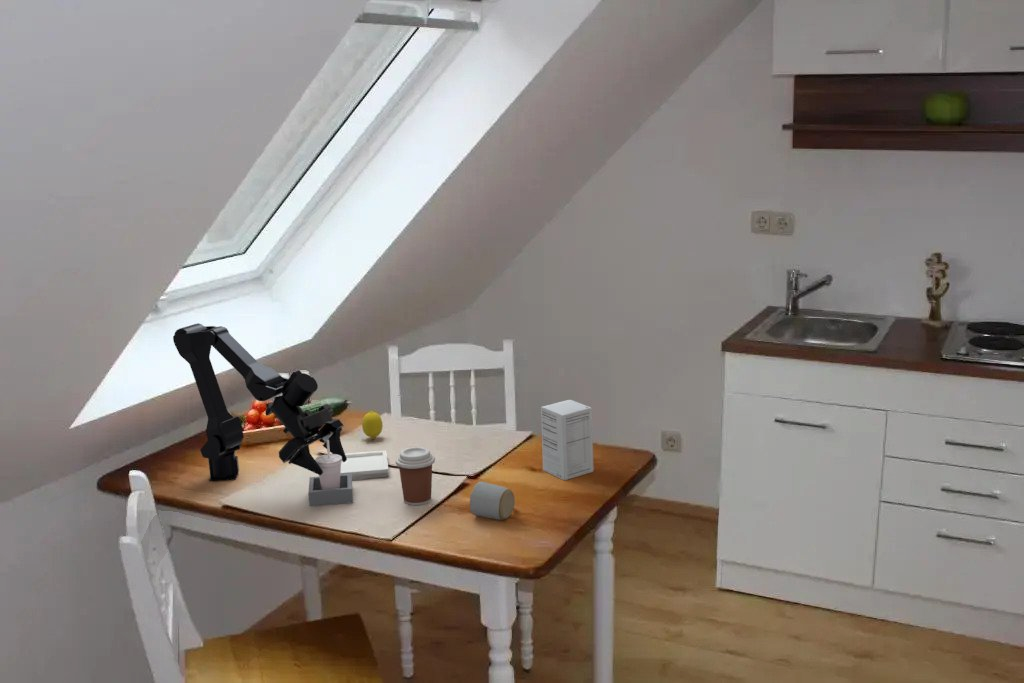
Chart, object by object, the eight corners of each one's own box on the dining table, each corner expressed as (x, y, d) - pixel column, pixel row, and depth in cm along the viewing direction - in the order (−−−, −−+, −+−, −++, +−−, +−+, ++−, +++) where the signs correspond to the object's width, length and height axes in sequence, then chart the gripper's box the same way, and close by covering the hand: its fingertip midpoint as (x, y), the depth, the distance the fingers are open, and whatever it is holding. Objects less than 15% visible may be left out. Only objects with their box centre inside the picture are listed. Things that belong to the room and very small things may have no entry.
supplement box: (572, 461, 268) (570, 398, 264) (594, 472, 261) (593, 406, 257) (541, 470, 263) (539, 405, 259) (563, 481, 256) (562, 414, 252)
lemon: (359, 441, 289) (357, 413, 287) (369, 434, 294) (367, 407, 292) (377, 443, 287) (375, 415, 285) (386, 436, 292) (385, 409, 290)
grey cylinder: (502, 525, 231) (501, 492, 229) (469, 520, 235) (468, 487, 233) (523, 509, 240) (522, 477, 239) (491, 503, 244) (490, 472, 242)
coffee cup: (435, 491, 252) (432, 443, 249) (439, 505, 243) (436, 456, 240) (396, 494, 251) (393, 447, 248) (399, 509, 242) (396, 460, 239)
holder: (309, 506, 245) (308, 492, 244) (310, 490, 255) (309, 477, 254) (352, 502, 247) (351, 488, 246) (352, 487, 256) (351, 473, 255)
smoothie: (348, 491, 254) (343, 436, 250) (341, 502, 247) (336, 445, 244) (322, 491, 254) (317, 436, 251) (314, 501, 248) (309, 445, 245)
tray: (331, 481, 260) (331, 473, 260) (332, 462, 274) (331, 454, 273) (388, 476, 262) (388, 469, 262) (386, 457, 276) (386, 450, 275)
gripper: (284, 408, 239) (327, 460, 236) (334, 386, 255) (375, 435, 252) (260, 436, 244) (302, 488, 242) (310, 413, 260) (350, 461, 258)
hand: (333, 467), depth 248 cm, fingers open, 9 cm apart
